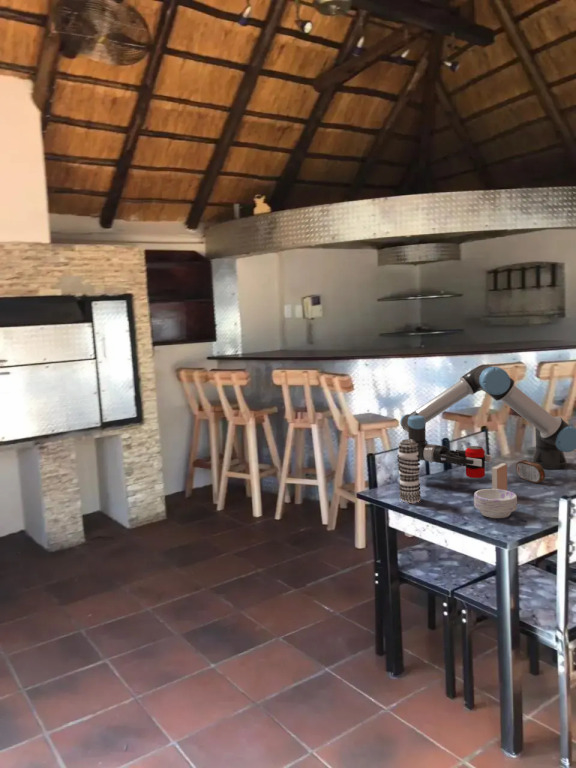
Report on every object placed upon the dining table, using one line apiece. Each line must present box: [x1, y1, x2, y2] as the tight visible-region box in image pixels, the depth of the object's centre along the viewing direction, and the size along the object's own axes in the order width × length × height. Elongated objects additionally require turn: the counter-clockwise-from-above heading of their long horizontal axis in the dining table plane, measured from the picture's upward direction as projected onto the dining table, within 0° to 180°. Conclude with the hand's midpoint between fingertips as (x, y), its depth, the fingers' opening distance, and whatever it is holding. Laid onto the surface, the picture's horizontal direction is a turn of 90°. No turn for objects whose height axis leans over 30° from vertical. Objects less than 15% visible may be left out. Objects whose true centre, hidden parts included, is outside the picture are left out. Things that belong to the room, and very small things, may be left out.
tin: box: [515, 459, 546, 484], centre depth 266 cm, size 15×3×8 cm, turn 22°
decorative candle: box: [396, 438, 422, 504], centre depth 248 cm, size 9×9×25 cm
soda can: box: [464, 445, 486, 479], centre depth 252 cm, size 8×8×12 cm
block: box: [491, 462, 508, 491], centre depth 246 cm, size 2×9×13 cm, turn 136°
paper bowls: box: [473, 488, 518, 519], centre depth 227 cm, size 15×15×8 cm
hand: (486, 460), depth 249 cm, fingers closed on soda can, 7 cm apart
